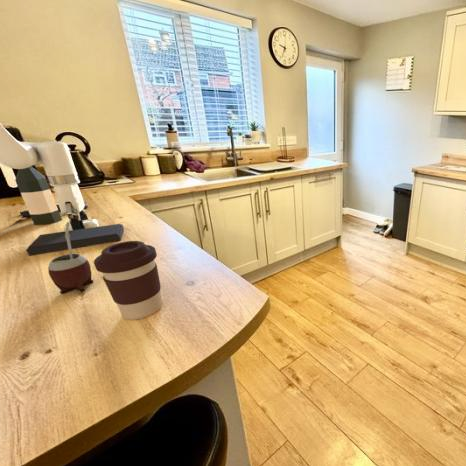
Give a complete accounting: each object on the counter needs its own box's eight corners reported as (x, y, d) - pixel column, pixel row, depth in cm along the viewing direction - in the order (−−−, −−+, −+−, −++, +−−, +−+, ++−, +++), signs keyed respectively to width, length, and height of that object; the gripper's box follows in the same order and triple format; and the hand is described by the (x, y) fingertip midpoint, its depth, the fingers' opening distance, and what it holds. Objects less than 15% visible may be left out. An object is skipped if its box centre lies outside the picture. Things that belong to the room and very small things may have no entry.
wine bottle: (41, 226, 108) (5, 142, 96) (27, 223, 110) (-9, 141, 99) (67, 219, 115) (37, 140, 104) (54, 217, 117) (23, 140, 106)
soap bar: (66, 229, 105) (63, 222, 104) (98, 224, 110) (96, 218, 109) (65, 233, 101) (62, 226, 100) (98, 228, 106) (95, 221, 105)
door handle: (24, 206, 123) (18, 212, 112) (85, 198, 135) (86, 203, 124) (27, 213, 124) (22, 220, 113) (87, 205, 137) (88, 210, 125)
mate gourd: (65, 299, 66) (39, 238, 60) (51, 289, 69) (25, 231, 63) (103, 283, 72) (83, 227, 66) (89, 275, 75) (68, 221, 69)
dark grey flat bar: (28, 255, 85) (25, 248, 84) (41, 241, 95) (38, 234, 94) (120, 240, 96) (118, 233, 95) (124, 229, 106) (122, 223, 105)
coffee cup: (144, 328, 57) (122, 260, 51) (102, 321, 59) (76, 256, 53) (180, 299, 66) (164, 239, 60) (142, 294, 68) (124, 235, 62)
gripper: (56, 176, 104) (74, 222, 110) (41, 185, 90) (62, 237, 97) (83, 174, 107) (98, 219, 114) (72, 183, 94) (90, 233, 100)
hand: (81, 227), depth 105 cm, fingers open, 7 cm apart
